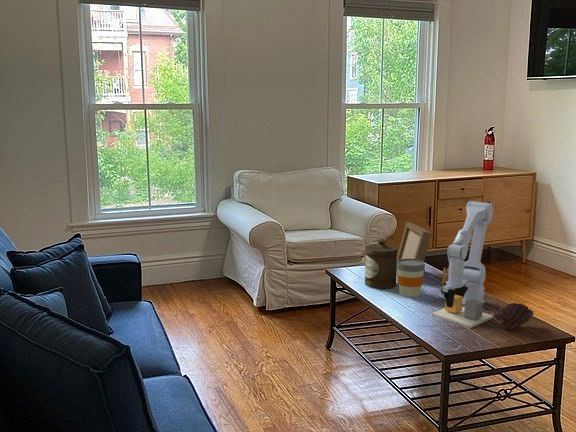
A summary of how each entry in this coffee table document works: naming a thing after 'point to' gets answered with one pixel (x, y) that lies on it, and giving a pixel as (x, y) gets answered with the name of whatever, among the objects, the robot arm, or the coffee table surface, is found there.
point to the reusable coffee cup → (410, 276)
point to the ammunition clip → (445, 279)
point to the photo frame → (414, 243)
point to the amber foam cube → (455, 304)
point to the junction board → (460, 317)
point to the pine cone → (513, 315)
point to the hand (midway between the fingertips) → (454, 305)
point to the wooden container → (381, 265)
